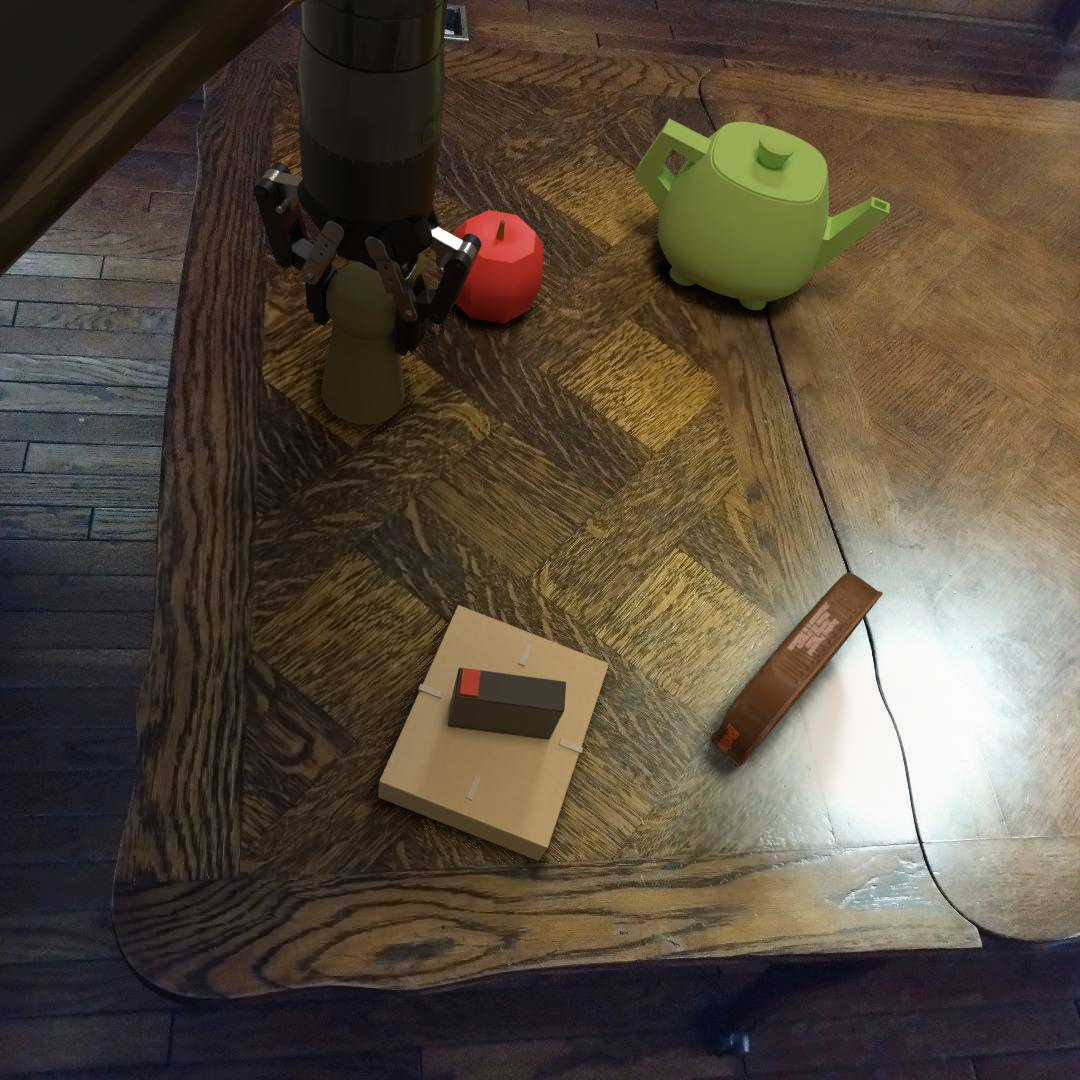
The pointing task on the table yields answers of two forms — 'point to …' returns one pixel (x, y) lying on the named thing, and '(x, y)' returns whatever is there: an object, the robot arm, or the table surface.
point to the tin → (793, 667)
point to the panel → (492, 740)
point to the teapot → (747, 210)
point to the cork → (362, 348)
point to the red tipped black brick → (506, 703)
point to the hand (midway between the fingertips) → (365, 330)
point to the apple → (501, 267)
